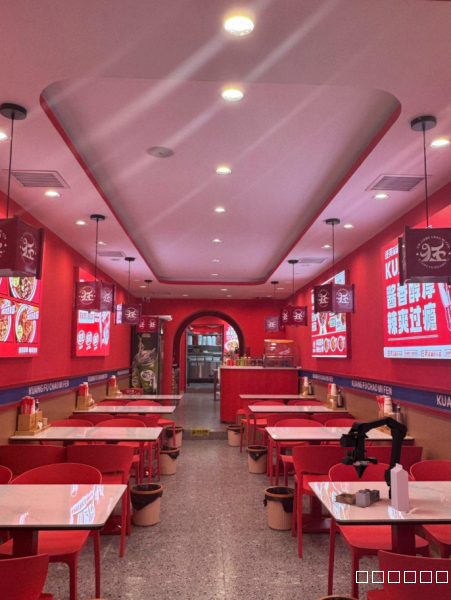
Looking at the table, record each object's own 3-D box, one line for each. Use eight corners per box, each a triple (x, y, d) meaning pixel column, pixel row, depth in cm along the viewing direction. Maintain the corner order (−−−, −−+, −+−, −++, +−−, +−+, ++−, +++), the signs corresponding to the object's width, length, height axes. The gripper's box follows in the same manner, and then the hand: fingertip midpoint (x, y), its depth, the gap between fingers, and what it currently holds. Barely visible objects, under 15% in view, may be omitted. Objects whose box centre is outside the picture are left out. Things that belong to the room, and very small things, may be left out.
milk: (402, 509, 233) (401, 463, 236) (409, 513, 227) (408, 465, 230) (391, 509, 232) (390, 463, 235) (397, 513, 226) (396, 465, 229)
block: (369, 504, 235) (369, 490, 236) (365, 506, 231) (365, 492, 232) (360, 502, 238) (360, 488, 239) (355, 504, 234) (355, 490, 235)
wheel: (376, 498, 246) (376, 489, 246) (373, 500, 242) (373, 491, 243) (366, 496, 249) (366, 487, 250) (362, 497, 246) (362, 489, 247)
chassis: (382, 501, 245) (382, 490, 246) (364, 510, 229) (364, 498, 230) (354, 495, 256) (354, 484, 256) (334, 504, 239) (334, 492, 240)
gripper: (366, 444, 255) (366, 474, 253) (335, 444, 250) (335, 475, 248) (378, 447, 245) (379, 479, 242) (346, 448, 239) (346, 480, 237)
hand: (359, 478), depth 243 cm, fingers closed
